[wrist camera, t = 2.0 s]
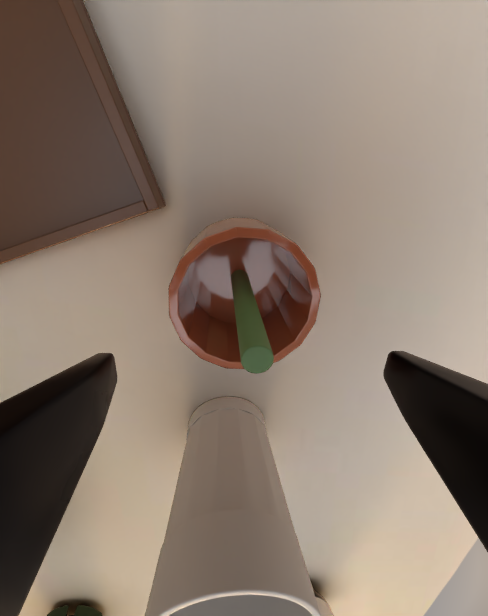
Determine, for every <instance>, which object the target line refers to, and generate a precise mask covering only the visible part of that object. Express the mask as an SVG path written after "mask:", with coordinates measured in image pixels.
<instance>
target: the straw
mask: <svg viewBox="0 0 488 616" xmlns="http://www.w3.org/2000/svg"><path fill="white" fill-rule="evenodd" d="M231 283H232V292H233V300H234V308H235V317H236V325H237V334H238V342H239V350H240V359H241V364H242V366H243V368H244V369H245V370H247V371H248V372H251V373H262V372H265V371H266V370H268V369H269V368H270V367H271V365H272V364H273V361H274V355H273V352H272V349H271V346H270V343H269V340H268V337H267V333H266V330H265V327H264V324H263V321H262V318H261V315H260V312H259V309H258V305H257V302H256V299H255V296H254V293H253V290H252V287H251V284H250V281H249V278H248V275H247V273H246V272H245V271H243V270H236V271H234V272H233V273H232V275H231Z"/></svg>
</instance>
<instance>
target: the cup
mask: <svg viewBox="0 0 488 616" xmlns="http://www.w3.org/2000/svg"><path fill="white" fill-rule="evenodd" d="M145 616H321V614H320V611H319V608H318V604H317V601H316V598H315V594H314V591H313V588H312V584H311V581H310V578H309V575H308V571H307V568H306V565H305V561H304V558H303V555H302V551H301V548H300V545H299V542H298V538H297V536H296V533H295V531H294V527H293V524H292V520H291V517H290V513H289V510H288V506H287V503H286V499H285V496H284V492H283V489H282V485H281V482H280V478H279V475H278V471H277V468H276V464H275V461H274V458H273V454H272V451H271V447H270V444H269V440H268V437H267V431H266V426H265V421H264V417H263V414H262V413H261V411H260V410H259V409H258V407H256V406H255V405H254V404H253V403H251V402H249V401H247V400H245V399H242V398H237V397H220V398H215V399H212V400H210V401H207V402H205V403H204V404H202V405H201V406H199V407H198V408H197V409H196V410H195V411H194V413H193V414H192V416H191V418H190V420H189V424H188V432H187V441H186V446H185V450H184V455H183V459H182V463H181V468H180V472H179V477H178V481H177V486H176V490H175V495H174V499H173V504H172V508H171V512H170V517H169V521H168V526H167V530H166V535H165V539H164V543H163V545H162V548H161V551H160V555H159V559H158V563H157V567H156V572H155V576H154V580H153V584H152V588H151V592H150V596H149V601H148V605H147V609H146V613H145Z"/></svg>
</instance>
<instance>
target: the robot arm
mask: <svg viewBox="0 0 488 616" xmlns="http://www.w3.org/2000/svg"><path fill="white" fill-rule="evenodd" d="M384 379H385V381H386V383H387V385H388V387H389V389H390V391H391V393H392V395H393V397H394V399H395V401H396V403H397V405H398V407H399V409H400V411H401V413H402V415H403V417H404V419H405V421H406V422H407V424H408V426H409V427H410V429H411V430H412V432H413V434H414V435H415V437H416V438H417V440H418V442H419V443H420V445H421V446H422V448H423V450H424V451H425V453H426V454H427V456H428V458H429V459H430V461H431V462H432V464H433V466H434V467H435V469H436V470H437V472H438V473H439V475H440V477H441V478H442V480H443V481H444V483H445V485H446V486H447V488H448V489H449V491H450V493H451V494H452V496H453V497H454V499H455V501H456V502H457V504H458V505H459V507H460V509H461V510H462V512H463V513H464V515H465V517H466V518H467V520H468V521H469V523H470V525H471V526H472V528H473V529H474V531H475V533H476V534H477V536H478V537H479V539H480V541H481V542H482V543H483V545H484V547H485V549H486V550H487V552H488V384H486V383H484V382H481V381H479V380H476V379H474V378H471V377H468V376H466V375H463V374H461V373H458V372H456V371H453V370H450V369H448V368H445V367H443V366H440V365H438V364H435V363H432V362H430V361H427V360H425V359H422V358H420V357H417V356H414V355H412V354H409V353H407V352H404V351H391V352H390V353H389V354H388V357H387V361H386V365H385V368H384ZM116 383H117V371H116V365H115V358H114V356H113V354H112V353H98V354H96V355H94V356H92V357H90V358H88V359H86V360H84V361H82V362H80V363H78V364H76V365H74V366H72V367H70V368H68V369H66V370H65V371H63V372H61V373H59V374H57V375H55V376H53V377H51V378H49V379H47V380H45V381H43V382H41V383H39V384H37V385H35V386H33V387H31V388H29V389H27V390H25V391H23V392H21V393H19V394H17V395H15V396H13V397H11V398H9V399H7V400H5V401H3V402H1V403H0V616H18V615H19V613H20V611H21V609H22V607H23V604H24V602H25V600H26V598H27V595H28V593H29V591H30V589H31V586H32V584H33V582H34V580H35V577H36V575H37V573H38V571H39V569H40V566H41V564H42V562H43V560H44V557H45V555H46V553H47V551H48V548H49V546H50V544H51V542H52V539H53V537H54V535H55V533H56V531H57V528H58V526H59V524H60V522H61V519H62V517H63V515H64V513H65V510H66V508H67V506H68V504H69V502H70V499H71V497H72V495H73V493H74V490H75V488H76V486H77V484H78V481H79V479H80V477H81V475H82V472H83V470H84V468H85V466H86V464H87V461H88V459H89V457H90V455H91V452H92V450H93V448H94V446H95V443H96V441H97V439H98V437H99V434H100V432H101V430H102V427H103V424H104V421H105V418H106V415H107V412H108V409H109V406H110V403H111V399H112V396H113V393H114V390H115V387H116Z"/></svg>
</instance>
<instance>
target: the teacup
mask: <svg viewBox="0 0 488 616" xmlns="http://www.w3.org/2000/svg"><path fill="white" fill-rule="evenodd" d="M236 270H243V271H245V272H246V273H247V275H248V278H249V281H250V284H251V287H252V290H253V293H254V296H255V299H256V302H257V305H258V309H259V312H260V315H261V318H262V321H263V324H264V327H265V330H266V333H267V337H268V340H269V343H270V346H271V349H272V352H273V355H274V361H273V363H274V362H277V361H279V360H281V359H282V358H284V357H285V356H286V355H288V354H289V353H290V352H292V351H293V350H294V349H296V348H297V347H298V346H300V344H302V342H303V341H304V339H305V338H306V336H307V335H308V333H309V331H310V330H311V328H312V327H313V325H314V324H315V322H316V317H317V312H318V307H319V302H320V297H321V293H320V289H319V284H318V280H317V276H316V271H315V268H314V266H313V265H312V263H311V262H310V261H309V259H308V258H307V257H306V256H305V254H304V253H303V252H302V250H301V249H300V248H299V246H298V245H297V244H296V243H294V242H293V241H291V240H290V239H289V238H287V237H286V236H284V235H283V234H281V233H280V232H279V231H277V230H275V229H274V228H272V227H270V226H268V225H266V224H264V223H262V222H261V221H259V220H256V219H249V218H234V217H233V218H228V219H224V220H221V221H218V222H216V223H213V224H211V225H209V226H207V227H206V228H205V229H204V230H203V231H202V232H200V233H199V234H198V235H197V236H196V237H195V238H194V239H193V240H192V241H191V243H190V244H189V246H188V248H187V249H186V251H185V253H184V255H183V256H182V258H181V260H180V262H179V264H178V266H177V269H176V271H175V273H174V276H173V278H172V280H171V283H170V285H169V316H170V319H171V321H172V323H173V325H174V327H175V329H176V331H177V333H178V336H179V338H180V340H181V341H182V342H183V343H184V344H185V345H186V346H187V347H189V348H190V349H191V350H192V351H193V352H194V353H195V354H196V355H198V356H199V357H200V358H201V359H203V360H206V361H208V362H211V363H214V364H216V365H219V366H221V367H224V368H232V369H244V368H243V366H242V364H241V359H240V350H239V342H238V334H237V325H236V317H235V308H234V300H233V292H232V283H231V275H232V273H233V272H234V271H236Z"/></svg>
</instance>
